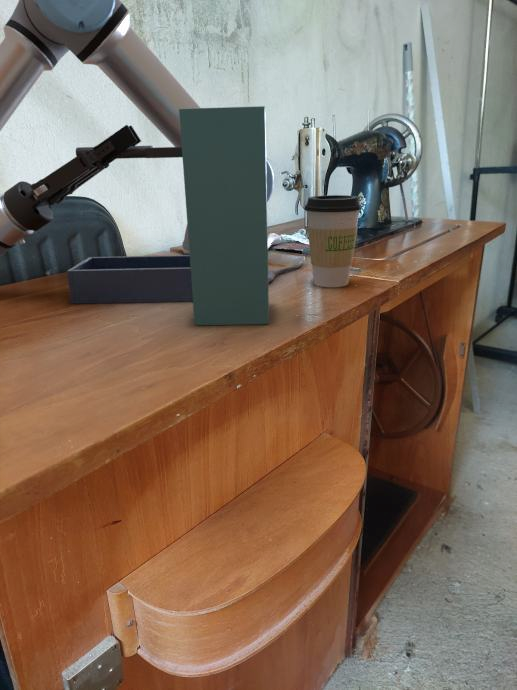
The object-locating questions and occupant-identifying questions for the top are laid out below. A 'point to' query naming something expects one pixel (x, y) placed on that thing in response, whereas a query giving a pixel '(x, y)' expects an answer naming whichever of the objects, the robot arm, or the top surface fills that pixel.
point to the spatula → (273, 239)
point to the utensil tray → (131, 279)
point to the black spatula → (142, 152)
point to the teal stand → (226, 213)
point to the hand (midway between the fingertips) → (133, 133)
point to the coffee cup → (332, 237)
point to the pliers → (274, 272)
